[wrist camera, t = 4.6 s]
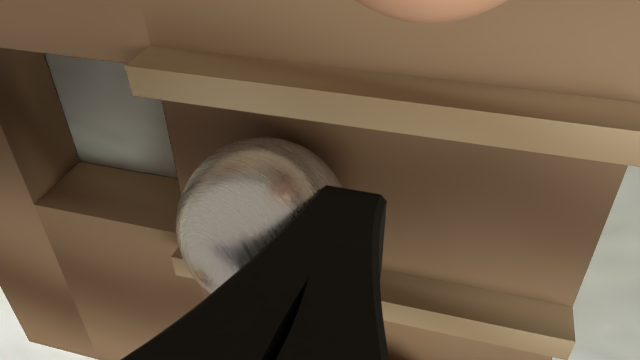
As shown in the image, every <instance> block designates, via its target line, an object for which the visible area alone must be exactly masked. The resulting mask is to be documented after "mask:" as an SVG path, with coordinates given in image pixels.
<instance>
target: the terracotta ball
mask: <svg viewBox="0 0 640 360" xmlns="http://www.w3.org/2000/svg"><path fill="white" fill-rule="evenodd" d="M356 1H357V2H359V3H360V4H362V5H364V6H365V7H367V8H369V9H370V10H372V11H375V12H377V13H379V14H382V15H384V16H386V17H390V18H393V19H397V20H400V21H405V22H412V23H421V24H437V23H448V22H454V21H458V20H463V19H467V18H470V17H473V16H476V15H478V14H481V13H484V12H487V11H489V10H491V9H493V8H495V7H497V6H499V5H501V4H503V3H504V2H506V1H507V0H356Z"/></svg>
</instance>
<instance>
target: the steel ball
mask: <svg viewBox="0 0 640 360" xmlns="http://www.w3.org/2000/svg"><path fill="white" fill-rule="evenodd" d="M326 185H329V186H334V187H340V188H342V185H341V183H340V182H339V180H338V178H337V177H336V175H335V174H334V172H333V171H332V170H331V168H330V167H329V166H328V165H327V164H326V163H325V162H324V161H323V160H322V159H321V158H320V157H318V156H317V155H316V154H314V153H313V152H311V151H310V150H308V149H307V148H305V147H303V146H301V145H299V144H296V143H293V142H290V141H287V140H284V139H278V138H270V137H259V138H250V139H245V140H241V141H237V142H234V143H232V144H229V145H227V146H225V147H223V148H221V149H219V150H218V151H216V152H215V153H213V154H212V155H211V156H209V157H208V158H207V159H206V160H205V161H204V162H202V163H201V164H200V166H199V167H198V168H197V169H196V170H195V171H194V173H193V174H192V175H191V177H190V179H189V180H188V182H187V184H186V186H185V188H184V190H183V192H182V195H181V198H180V201H179V204H178V210H177V216H176V233H177V241H178V245H179V249H180V252H181V255H182V258H183V260H184V262H185V264H186V266H187V268H188V270H189V271H190V273H191V274H192V276H193V277H194V278H195V280H196V281H197V282H198V283H199V284H200V285H201V286H202V287H203V288H204V289H205V290H206V291H207V292H209V293H210V294H211V293H213V292H214V291H215V290H216V289H217V288H218V287H220V286H221V285H222V284H223V283H224V282H225V281H227V280H228V279H229V278H230V277H231V276H233V275H234V274H235V273H236V272H237V271H238V270H240V269H241V268H242V267H243V266H244V265H245V264H246V263H247V262H248V261H250V260H251V259H252V258H253V257H254V256H255V255H256V254H257V253H258V252H259V251H260V250H261V249H262V248H263V247H264V246H265V245H266V244H268V243H269V242H270V241H271V240H272V239H273V238H274V237H275V236H276V235H277V234H278V233H279V232H280V231H281V230H282V229H283V228H284V227H285V226H286V225H287V224H288V223H289V222H290V221H291V220H292V219H293V218H294V217H295V216H296V215H297V214H298V213H299V212H300V210H301V209H302V208H303V207H304V206H305V205H306V204H307V203H308V202H309V201H310V200H311V199H312V198H313V196H314V195H315V194H316V193H317V192H318V191H319V190H320V189H321V188H323V187H324V186H326Z"/></svg>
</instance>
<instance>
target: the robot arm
mask: <svg viewBox="0 0 640 360" xmlns="http://www.w3.org/2000/svg"><path fill="white" fill-rule="evenodd" d="M386 205H387V201H386V200H385V198H384V197H383V196H382V195H381V194H376V193H370V192H364V191H358V190H352V189H346V188H340V187H334V186H329V185H326V186H324V187H323V188H321V189H320V190H319V191H318V192H317V193H316V194H315V195H314V196H313V198H312V199H311V200H310V201H309V202H308V203H307V204H306V205H305V206H304V207H303V208H302V209H301V210H300V212H299V213H298V214H297V215H296V216H295V217H294V218H293V219H292V220H291V221H290V222H289V223H288V224H287V225H286V226H285V227H284V228H283V229H282V230H281V231H280V232H279V233H278V234H277V235H276V236H275V237H274V238H273V239H272V240H271V241H270V242H269V243H268V244H266V245H265V246H264V247H263V248H262V249H261V250H260V251H259V252H258V253H257V254H256V255H255V256H254V257H253V258H252V259H251V260H250V261H248V262H247V263H246V264H245V265H244V266H243V267H242V268H241V269H240V270H238V271H237V272H236V273H235V274H234V275H233V276H231V277H230V278H229V279H228V280H227V281H225V282H224V283H223V284H222V285H221V286H220V287H218V288H217V289H216V290H215V291H214V292H213V293H211V294H210V295H209V296H208V297H207V298H205V299H204V300H203V301H202V302H200V303H199V304H198V305H197V306H195V307H194V308H193V309H191V310H190V311H189V312H188V313H186V314H185V315H184V316H182V317H181V318H180V319H178V320H177V321H176V322H174V323H173V324H172V325H170V326H169V327H167V328H166V329H165V330H163V331H162V332H161V333H159V334H158V335H156V336H155V337H154V338H152V339H151V340H149V341H148V342H146V343H145V344H143V345H142V346H140V347H139V348H137V349H136V350H134V351H133V352H131V353H130V354H128V355H127V356H125V357H124V358H122V359H121V360H389V356H388V350H387V343H386V336H385V328H384V321H383V312H382V303H381V290H380V277H381V269H382V256H383V243H384V230H385V218H386Z"/></svg>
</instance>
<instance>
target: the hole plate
mask: <svg viewBox="0 0 640 360" xmlns="http://www.w3.org/2000/svg"><path fill="white" fill-rule="evenodd" d="M44 53H47V54H55V55H63V56H71V57H79V58H87V59H95V60H103V61H111V62H119V63H127V64H126V65H125V69H126V73H127V77H128V81H129V86H130V90H131V94H132V96H138V97H145V98H153V99H160V100H162V105H163V109H164V114H165V119H166V124H167V129H168V133H169V138H170V143H171V148H172V152H173V157H174V162H175V167H176V172H177V176H178V179H175V178H169V177H163V176H158V175H152V174H146V173H140V172H135V171H129V170H123V169H118V168H112V167H106V166H100V165H95V164H89V163H83V162H80V161H79V158H78V155H77V152H76V149H75V146H74V143H73V140H72V137H71V134H70V131H69V128H68V125H67V122H66V119H65V116H64V113H63V110H62V107H61V104H60V101H59V98H58V95H57V92H56V89H55V86H54V83H53V80H52V77H51V74H50V71H49V68H48V65H47V62H46V59H45V56H44ZM259 137H270V138H278V139H284V140H287V141H290V142H293V143H296V144H299V145H301V146H303V147H305V148H307V149H308V150H310V151H311V152H313V153H314V154H316V155H317V156H318V157H320V158H321V159H322V160H323V161H324V162H325V163H326V164H327V165H328V166H329V167H330V168H331V170H332V171H333V172H334V174H335V175H336V177H337V178H338V180H339V182H340V183H341V185H342V188H346V189H352V190H358V191H364V192H370V193H376V194H381V195H382V196H383V197H384V198H385V200H386V201H387V205H386V218H385V230H384V243H383V256H382V269H381V277H380V290H381V303H382V312H383V321H384V328H385V336H386V343H387V350H388V356H389V360H552V357H555V358H559V359H564V360H568V358H569V356H570V353H571V351H572V348H573V346H574V344H575V333H574V320H573V308H572V307H573V304H574V301H575V299H576V296H577V294H578V291H579V289H580V286H581V284H582V281H583V279H584V276H585V273H586V271H587V268H588V266H589V263H590V261H591V258H592V256H593V253H594V251H595V248H596V245H597V243H598V240H599V238H600V235H601V233H602V230H603V228H604V225H605V223H606V220H607V217H608V215H609V212H610V210H611V207H612V205H613V202H614V200H615V197H616V195H617V192H618V189H619V187H620V184H621V182H622V179H623V177H624V174H625V172H626V169H627V167H628V165H630V166H637V167H640V0H507V1H506V2H504V3H503V4H501V5H499V6H497V7H495V8H493V9H491V10H489V11H487V12H484V13H481V14H478V15H476V16H473V17H470V18H467V19H463V20H458V21H454V22H448V23H437V24H421V23H412V22H405V21H400V20H397V19H393V18H390V17H386V16H384V15H382V14H379V13H377V12H375V11H372V10H370V9H369V8H367V7H365V6H364V5H362V4H360V3H359V2H357V1H356V0H0V286H1V288H2V290H3V292H4V294H5V296H6V298H7V300H8V301H9V303H10V305H11V307H12V309H13V311H14V313H15V315H16V317H17V319H18V321H19V322H20V324H21V326H22V328H23V330H24V332H25V334H26V336H27V338H28V340H29V341H31V342H34V343H38V344H42V345H46V346H49V347H53V348H57V349H61V350H65V351H68V352H72V353H76V354H80V355H83V356H87V357H91V358H95V359H99V360H121V359H122V358H124V357H125V356H127V355H128V354H130V353H131V352H133V351H134V350H136V349H137V348H139V347H140V346H142V345H143V344H145V343H146V342H148V341H149V340H151V339H152V338H154V337H155V336H156V335H158V334H159V333H161V332H162V331H163V330H165V329H166V328H167V327H169V326H170V325H172V324H173V323H174V322H176V321H177V320H178V319H180V318H181V317H182V316H184V315H185V314H186V313H188V312H189V311H190V310H191V309H193V308H194V307H195V306H197V305H198V304H199V303H200V302H202V301H203V300H204V299H205V298H207V297H208V296H209V295H210V293H209V292H207V291H206V290H205V289H204V288H203V287H202V286H201V285H200V284H199V283H198V282H197V281H196V280H195V278H194V277H193V276H192V274H191V273H190V271H189V270H188V268H187V266H186V264H185V262H184V260H183V258H182V255H181V252H180V249H179V245H178V241H177V233H176V216H177V210H178V204H179V201H180V198H181V195H182V192H183V190H184V188H185V186H186V184H187V182H188V180H189V179H190V177H191V175H192V174H193V173H194V171H195V170H196V169H197V168H198V167H199V166H200V164H201V163H202V162H204V161H205V160H206V159H207V158H208V157H209V156H211V155H212V154H213V153H215V152H216V151H218V150H219V149H221V148H223V147H225V146H227V145H229V144H232V143H234V142H237V141H241V140H245V139H250V138H259Z"/></svg>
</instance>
